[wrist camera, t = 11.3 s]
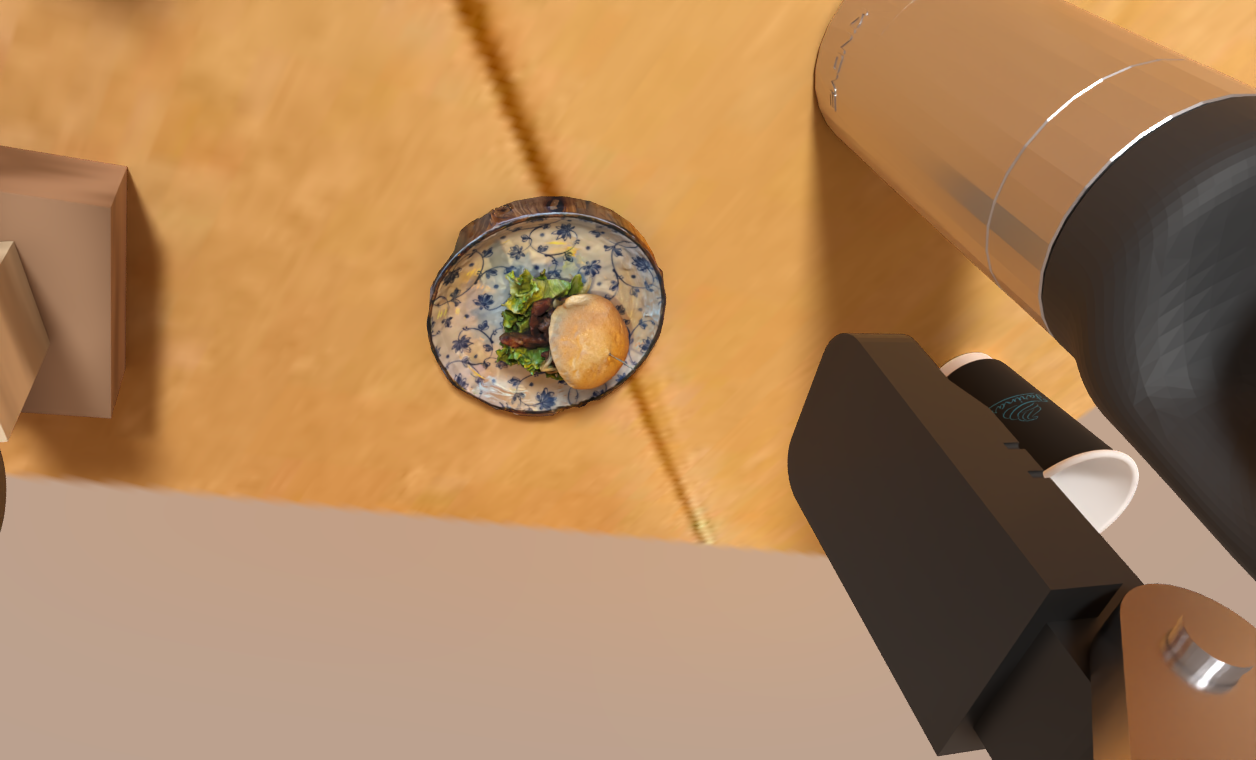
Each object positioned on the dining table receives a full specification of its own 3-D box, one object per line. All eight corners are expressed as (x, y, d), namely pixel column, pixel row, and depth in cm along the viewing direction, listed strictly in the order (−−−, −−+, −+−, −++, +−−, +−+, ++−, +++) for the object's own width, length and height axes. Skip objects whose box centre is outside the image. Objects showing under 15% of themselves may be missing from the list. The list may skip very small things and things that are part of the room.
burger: (410, 204, 40) (424, 294, 34) (665, 182, 43) (717, 262, 37) (437, 411, 47) (452, 513, 42) (652, 381, 50) (694, 473, 44)
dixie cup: (945, 449, 60) (1045, 576, 51) (877, 401, 55) (975, 533, 47) (1041, 365, 57) (1163, 486, 49) (978, 309, 52) (1100, 431, 44)
